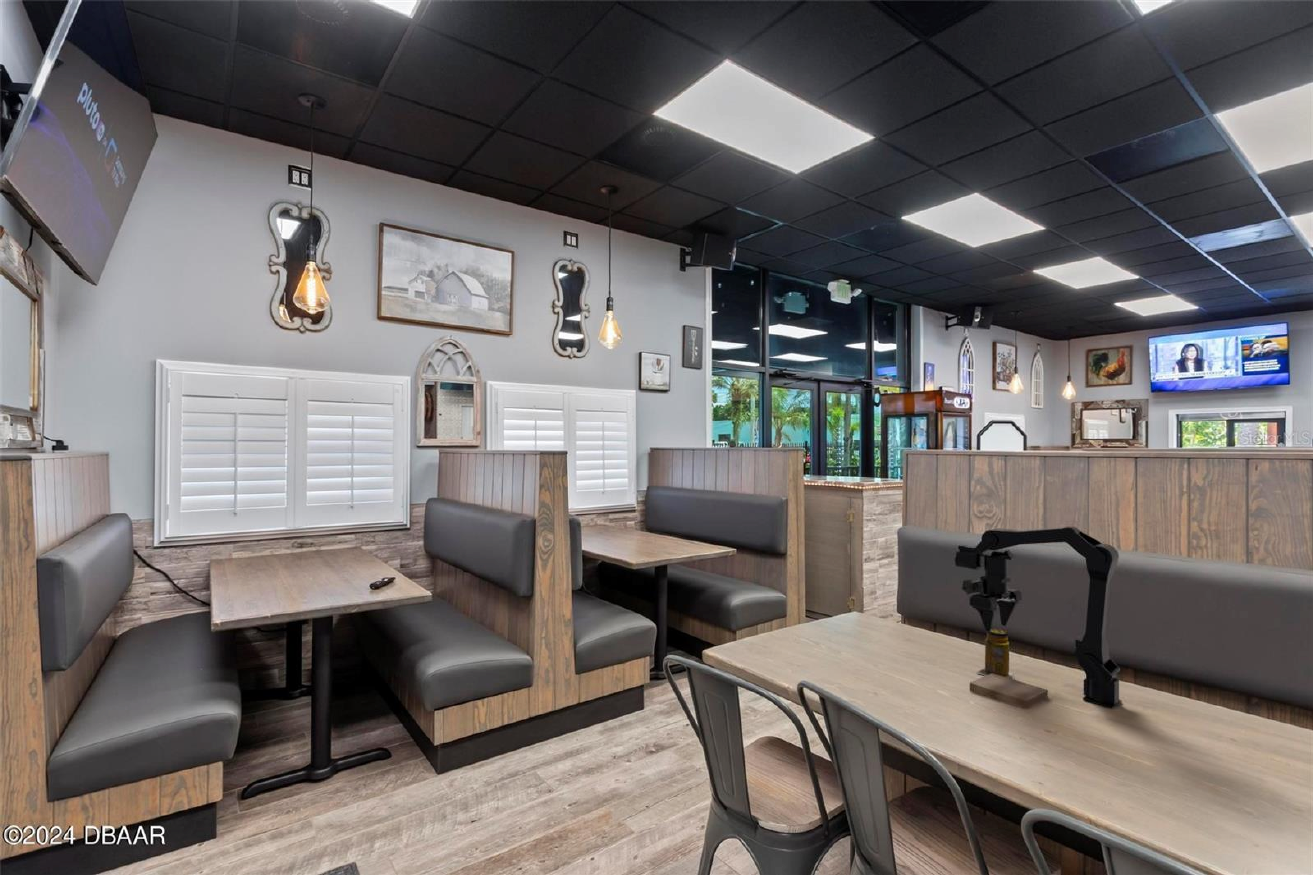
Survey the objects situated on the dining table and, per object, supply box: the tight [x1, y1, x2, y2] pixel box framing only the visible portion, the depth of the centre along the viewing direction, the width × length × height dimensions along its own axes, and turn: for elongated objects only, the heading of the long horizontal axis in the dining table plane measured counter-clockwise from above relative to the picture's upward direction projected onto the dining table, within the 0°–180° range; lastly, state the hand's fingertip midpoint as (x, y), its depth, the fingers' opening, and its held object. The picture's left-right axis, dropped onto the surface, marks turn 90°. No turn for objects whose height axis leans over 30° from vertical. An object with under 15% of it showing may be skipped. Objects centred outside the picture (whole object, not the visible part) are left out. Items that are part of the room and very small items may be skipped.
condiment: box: [976, 628, 1015, 678], centre depth 176 cm, size 7×8×12 cm
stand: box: [969, 673, 1049, 710], centre depth 162 cm, size 14×12×2 cm
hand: (995, 628), depth 176 cm, fingers open, 9 cm apart
